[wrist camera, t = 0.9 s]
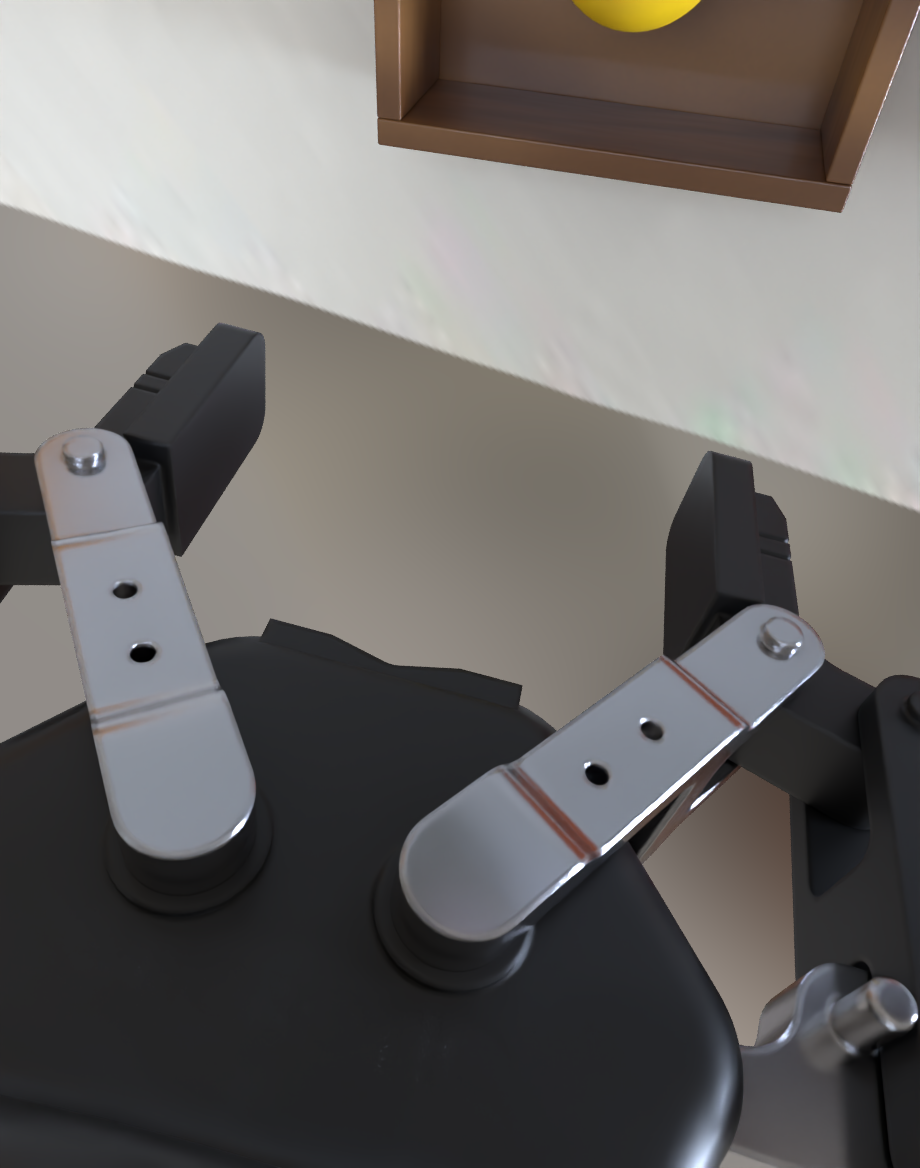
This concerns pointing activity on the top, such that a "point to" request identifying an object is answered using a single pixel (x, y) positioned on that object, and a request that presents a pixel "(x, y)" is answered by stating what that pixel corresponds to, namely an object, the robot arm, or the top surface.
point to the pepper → (635, 13)
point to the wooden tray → (647, 90)
